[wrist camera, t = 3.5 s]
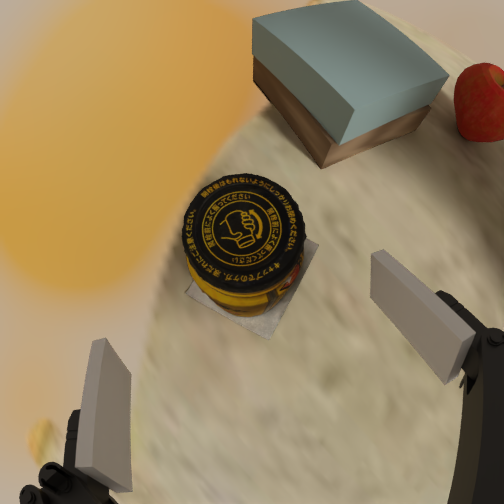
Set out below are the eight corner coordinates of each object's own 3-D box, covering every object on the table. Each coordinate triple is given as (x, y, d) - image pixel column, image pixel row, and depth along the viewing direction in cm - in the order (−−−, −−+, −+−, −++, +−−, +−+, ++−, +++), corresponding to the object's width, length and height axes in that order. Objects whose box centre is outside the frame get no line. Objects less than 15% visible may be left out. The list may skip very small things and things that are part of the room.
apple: (423, 103, 30) (462, 41, 19) (467, 106, 30) (506, 55, 20) (455, 164, 28) (511, 108, 17) (497, 161, 28) (548, 115, 18)
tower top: (348, 29, 28) (356, -1, 23) (430, 103, 25) (449, 75, 20) (252, 54, 26) (252, 18, 21) (339, 145, 23) (354, 109, 18)
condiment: (185, 294, 24) (130, 255, 12) (239, 204, 26) (233, 109, 14) (268, 340, 23) (288, 346, 11) (318, 246, 25) (370, 174, 13)
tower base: (345, 56, 32) (353, 30, 27) (413, 132, 29) (431, 108, 25) (253, 81, 30) (253, 51, 26) (320, 171, 27) (331, 144, 23)
